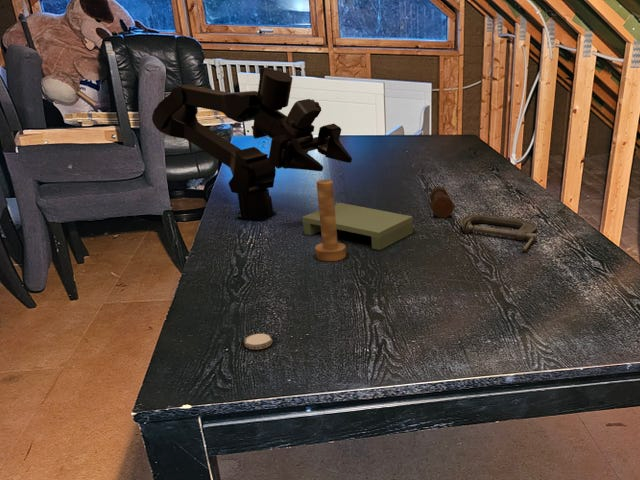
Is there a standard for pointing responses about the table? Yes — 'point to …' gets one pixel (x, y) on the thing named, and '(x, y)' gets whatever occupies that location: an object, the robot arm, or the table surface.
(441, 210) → the bolt
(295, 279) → the table surface
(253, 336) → the tan bottle cap
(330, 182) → the wooden peg stand
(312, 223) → the shelf
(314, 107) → the robot arm
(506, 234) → the c clamp
